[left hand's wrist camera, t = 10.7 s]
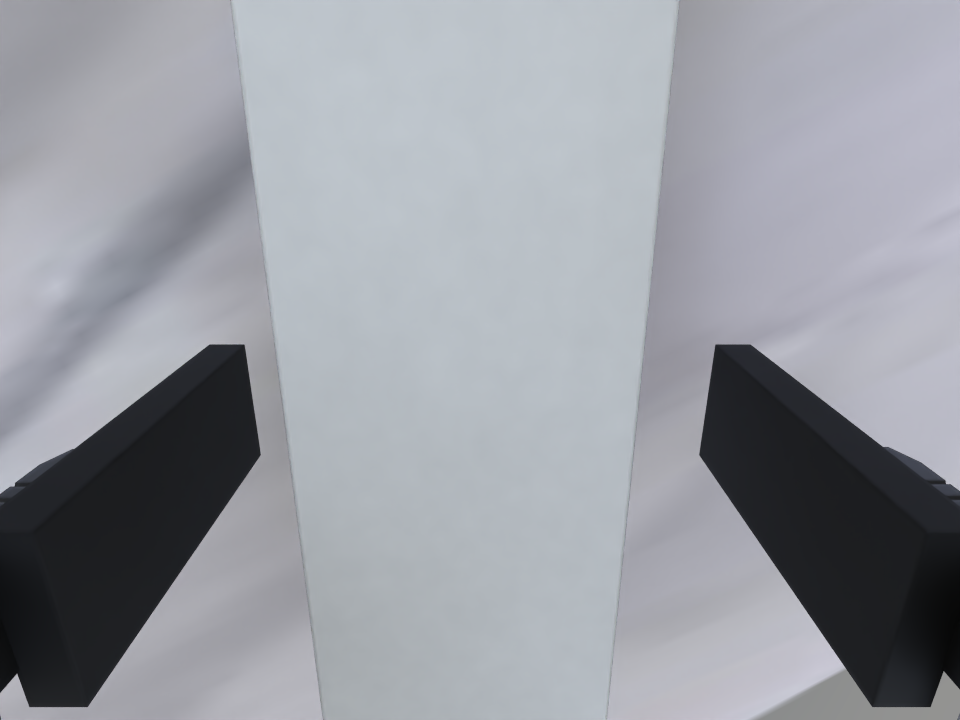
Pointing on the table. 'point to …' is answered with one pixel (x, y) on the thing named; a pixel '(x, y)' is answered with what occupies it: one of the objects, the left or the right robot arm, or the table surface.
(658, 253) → the table surface
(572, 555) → the post
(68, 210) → the table surface
